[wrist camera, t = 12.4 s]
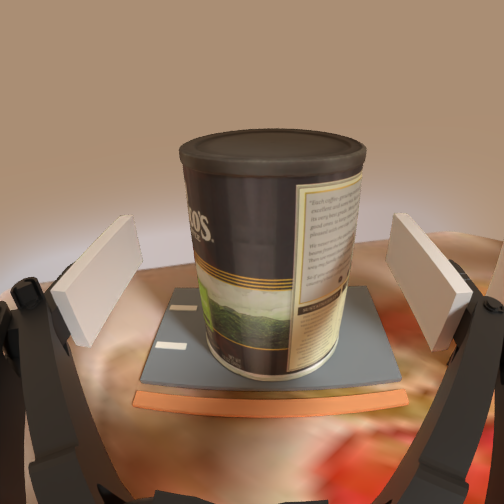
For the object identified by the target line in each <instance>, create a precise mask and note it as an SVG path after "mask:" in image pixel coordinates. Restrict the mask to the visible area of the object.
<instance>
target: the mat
mask: <svg viewBox="0 0 504 504" xmlns="http://www.w3.org/2000/svg"><path fill="white" fill-rule="evenodd" d="M401 379H402V377H401V374H400V371H399V368H398V365H397V362H396V360H395V357H394V354H393V351H392V349H391V346H390V343H389V341H388V338H387V335H386V333H385V330H384V328H383V325H382V323H381V320H380V318H379V315H378V313H377V310H376V308H375V305H374V303H373V300H372V298H371V296H370V293H369V291H368V289H367V286H347V292H346V298H345V303H344V309H343V314H342V319H341V324H340V329H339V339H338V343H337V346H336V349H335V351H334V353H333V355H332V356H331V357H330V358H329V359H328V360H327V361H326V362H325V363H324V364H323V365H322V366H321V367H319V368H318V369H316V370H315V371H313V372H311V373H309V374H307V375H305V376H302V377H299V378H296V379H293V380H288V381H277V382H269V381H258V380H253V379H249V378H246V377H243V376H241V375H238V374H236V373H234V372H232V371H230V370H229V369H227V368H226V367H224V366H223V365H222V364H221V363H220V362H219V361H218V360H217V359H216V358H215V357H214V355H213V354H212V352H211V350H210V348H209V346H208V343H207V337H206V326H205V320H204V315H203V308H202V302H201V296H200V290H199V288H175V289H174V292H173V294H172V297H171V299H170V302H169V304H168V307H167V309H166V312H165V314H164V317H163V320H162V322H161V325H160V327H159V330H158V332H157V335H156V338H155V340H154V343H153V346H152V348H151V351H150V354H149V356H148V359H147V362H146V365H145V367H144V370H143V373H142V376H141V379H140V381H141V383H145V384H153V385H162V386H171V387H182V388H195V389H210V390H232V391H298V390H320V389H335V388H347V387H358V386H367V385H376V384H384V383H391V382H398V381H401Z"/></svg>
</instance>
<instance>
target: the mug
mask: <svg viewBox="0 0 504 504" xmlns="http://www.w3.org/2000/svg"><path fill="white" fill-rule="evenodd" d="M485 296H489V297H493V298H495V299H497V300H498V301H500V302H501V303H502V304H503V306H504V241H503V245H502V248H501V251H500V255H499V258H498V261H497V264H496V267H495V270H494V273H493V276H492V279H491V282H490V285H489V287H488V290H487V293H486V295H485ZM494 389H495V388H494Z"/></svg>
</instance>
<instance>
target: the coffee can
mask: <svg viewBox="0 0 504 504" xmlns="http://www.w3.org/2000/svg"><path fill="white" fill-rule="evenodd" d="M179 155H180V160H181V162H182V164H183V172H184V179H185V188H186V198H187V205H188V214H189V221H190V229H191V235H192V242H193V250H194V258H195V264H196V270H197V277H198V283H199V290H200V296H201V302H202V308H203V315H204V320H205V326H206V337H207V343H208V346H209V348H210V350H211V352H212V354H213V355H214V357H215V358H216V359H217V360H218V361H219V362H220V363H221V364H222V365H223V366H224V367H226V368H227V369H229V370H230V371H232V372H234V373H236V374H238V375H241V376H243V377H246V378H249V379H253V380H258V381H269V382H277V381H288V380H293V379H296V378H299V377H302V376H305V375H307V374H309V373H311V372H313V371H315V370H316V369H318V368H319V367H321V366H322V365H323V364H324V363H325V362H326V361H327V360H328V359H329V358H330V357H331V356H332V355H333V353H334V351H335V349H336V346H337V343H338V339H339V329H340V324H341V319H342V314H343V309H344V303H345V298H346V292H347V286H348V280H349V275H350V268H351V262H352V256H353V249H354V242H355V234H356V226H357V218H358V210H359V201H360V192H361V181H362V169H363V167H362V166H363V163H364V161H365V157H366V147H365V146H364V145H363V144H362V143H360V142H358V141H356V140H354V139H352V138H349V137H345V136H341V135H337V134H332V133H327V132H320V131H311V130H302V129H301V130H300V129H248V130H238V131H229V132H223V133H216V134H211V135H207V136H203V137H199V138H196V139H193V140H190V141H189V142H186V143H185V144H183V145H182V146H181V147H180V149H179Z"/></svg>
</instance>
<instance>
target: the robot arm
mask: <svg viewBox="0 0 504 504" xmlns="http://www.w3.org/2000/svg"><path fill="white" fill-rule="evenodd" d="M385 261H386V263H387V265H388V267H389V268H390V270H391V272H392V274H393V276H394V277H395V279H396V281H397V283H398V285H399V287H400V289H401V290H402V292H403V294H404V296H405V298H406V300H407V302H408V304H409V306H410V308H411V310H412V312H413V314H414V316H415V318H416V320H417V322H418V324H419V326H420V328H421V330H422V332H423V334H424V336H425V339H426V341H427V343H428V345H429V347H430V350H431V352H434V351H441V350H447V349H448V347H449V345H450V343H451V341H452V339H454V340H455V342H456V344H457V346H456V348H455V350H454V352H453V354H452V355H451V357H450V359H449V361H448V363H447V365H448V368H447V370H446V373H445V375H444V378H443V380H442V382H441V385H440V387H439V389H438V392H437V394H436V396H435V399H434V401H433V403H432V405H431V407H430V409H429V411H428V413H427V415H426V417H425V420H424V422H423V423H422V425H421V427H420V429H419V431H418V433H417V435H416V437H415V439H414V440H413V442H412V444H411V446H410V448H409V449H408V451H407V453H406V455H405V456H404V458H403V460H402V461H401V463H400V465H399V466H398V468H397V469H396V471H395V473H394V474H393V476H392V477H391V479H390V480H389V482H388V483H387V485H386V486H385V488H384V489H383V491H382V492H381V493H380V495H379V496H378V497H377V498H376V499H375V500H374V501H373V502H372V504H463V503H464V500H465V498H466V496H467V493H468V490H469V484H468V483H466V482H465V478H466V475H467V472H468V470H469V468H470V465H471V463H472V460H473V457H474V455H475V452H476V449H477V446H478V444H479V441H480V438H481V435H482V432H483V428H484V425H485V422H486V419H487V415H488V412H489V408H490V404H491V400H492V396H493V392H494V388H495V418H494V438H493V451H492V461H491V469H490V476H489V483H488V489H487V494H486V499H485V504H504V306H503V304H502V303H501V302H500V301H498V300H497V299H495V298H493V297H489V296H483V295H482V294H481V292H480V291H479V290H478V288H477V287H476V286H475V284H474V283H473V282H472V281H471V280H470V278H469V277H468V276H467V274H465V272H464V271H463V269H462V268H461V267H460V266H459V265H458V264H456V263H455V262H454V261H452V260H448V259H447V258H446V257H445V256H444V255H443V253H442V252H441V251H440V250H439V249H438V247H437V246H436V245H435V244H434V243H433V242H432V240H431V239H430V238H429V237H428V236H427V235H426V234H425V233H424V231H423V230H422V229H421V228H420V227H419V226H418V225H417V224H416V223H415V221H414V220H413V219H412V218H411V217H410V216H409V215H408V214H407V213H394V215H393V221H392V228H391V233H390V239H389V244H388V250H387V255H386V260H385ZM142 262H143V259H142V255H141V251H140V246H139V241H138V237H137V232H136V227H135V223H134V217H133V215H122V216H119V217H118V218H117V219H116V220H115V221H114V222H113V223H112V224H111V225H110V226H109V227H108V228H107V229H106V230H105V231H104V232H103V233H102V234H101V235H100V236H99V237H98V238H97V240H95V241H94V242H93V244H92V245H91V246H90V247H89V248H88V249H87V250H86V251H85V252H84V253H83V254H82V255H81V256H80V257H79V258H78V259H77V261H75V262H74V263H72V264H71V265H70V266H68V267H67V268H66V269H65V270H64V271H63V272H62V275H60V276H59V277H58V278H57V280H55V281H54V282H53V284H52V285H51V286H50V287H49V288H48V289H47V291H46V292H45V293H43V291H42V289H41V286H40V284H39V282H38V280H37V278H35V277H28V278H25V279H23V280H21V281H19V282H18V283H16V284H15V285H14V286H13V287H12V289H11V291H10V293H11V295H12V297H13V299H14V301H15V303H16V305H17V307H18V309H17V310H9V308H8V306H7V304H6V302H4V301H0V504H26V493H25V477H24V429H25V412H26V414H27V420H28V425H29V431H30V435H31V440H32V445H33V449H34V453H35V461H34V462H31V463H30V464H29V467H28V468H29V474H30V478H31V482H32V485H33V489H34V492H35V495H36V498H37V501H38V504H214V503H211V502H208V501H205V500H203V499H200V498H197V497H193V496H186V495H180V494H174V493H169V492H164V491H159V490H155V494H154V497H149V498H142V499H137V500H134V498H133V497H132V496H131V494H130V493H129V492H128V490H127V489H126V488H125V487H124V485H123V484H122V482H121V481H120V479H119V477H118V475H117V473H116V471H115V469H114V467H113V465H112V463H111V461H110V458H109V456H108V454H107V452H106V450H105V447H104V445H103V443H102V440H101V438H100V436H99V433H98V431H97V428H96V426H95V423H94V421H93V418H92V416H91V413H90V410H89V407H88V405H87V402H86V399H85V396H84V393H83V390H82V387H81V384H80V381H79V378H78V374H77V371H76V368H75V364H74V361H73V357H72V353H71V350H70V347H69V345H68V343H67V339H68V338H69V336H70V335H71V336H72V338H73V340H74V342H75V344H76V345H78V346H84V347H89V348H91V346H92V344H93V343H94V341H95V339H96V337H97V335H98V334H99V332H100V330H101V328H102V327H103V325H104V323H105V322H106V320H107V318H108V316H109V315H110V313H111V311H112V310H113V308H114V306H115V305H116V303H117V301H118V300H119V298H120V297H121V295H122V293H123V292H124V290H125V289H126V287H127V285H128V284H129V282H130V281H131V279H132V277H133V276H134V274H135V273H136V271H137V270H138V268H139V266H140V265H141V263H142ZM3 351H4V353H5V356H4V354H3ZM280 504H328V500H321V501H306V502H284V503H280Z"/></svg>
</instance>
